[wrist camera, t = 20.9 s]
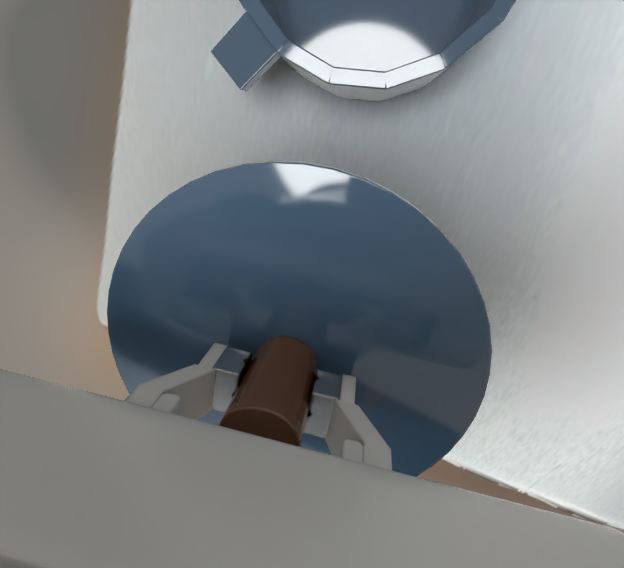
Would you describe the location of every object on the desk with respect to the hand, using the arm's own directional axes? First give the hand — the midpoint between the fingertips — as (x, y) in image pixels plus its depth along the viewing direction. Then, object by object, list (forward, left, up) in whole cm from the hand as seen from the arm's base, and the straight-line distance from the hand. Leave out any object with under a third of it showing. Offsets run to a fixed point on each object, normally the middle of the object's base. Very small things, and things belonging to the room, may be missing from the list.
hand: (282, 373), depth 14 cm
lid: (0, 0, -1) cm, 1 cm away
